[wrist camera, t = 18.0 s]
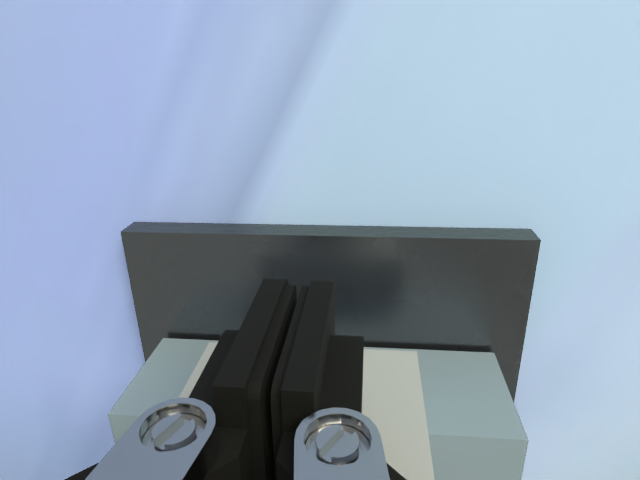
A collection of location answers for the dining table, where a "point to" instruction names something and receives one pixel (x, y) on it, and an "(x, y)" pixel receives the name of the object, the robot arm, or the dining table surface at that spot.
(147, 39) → the dining table surface
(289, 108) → the dining table surface
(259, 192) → the dining table surface
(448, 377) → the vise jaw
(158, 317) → the panel
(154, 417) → the robot arm
